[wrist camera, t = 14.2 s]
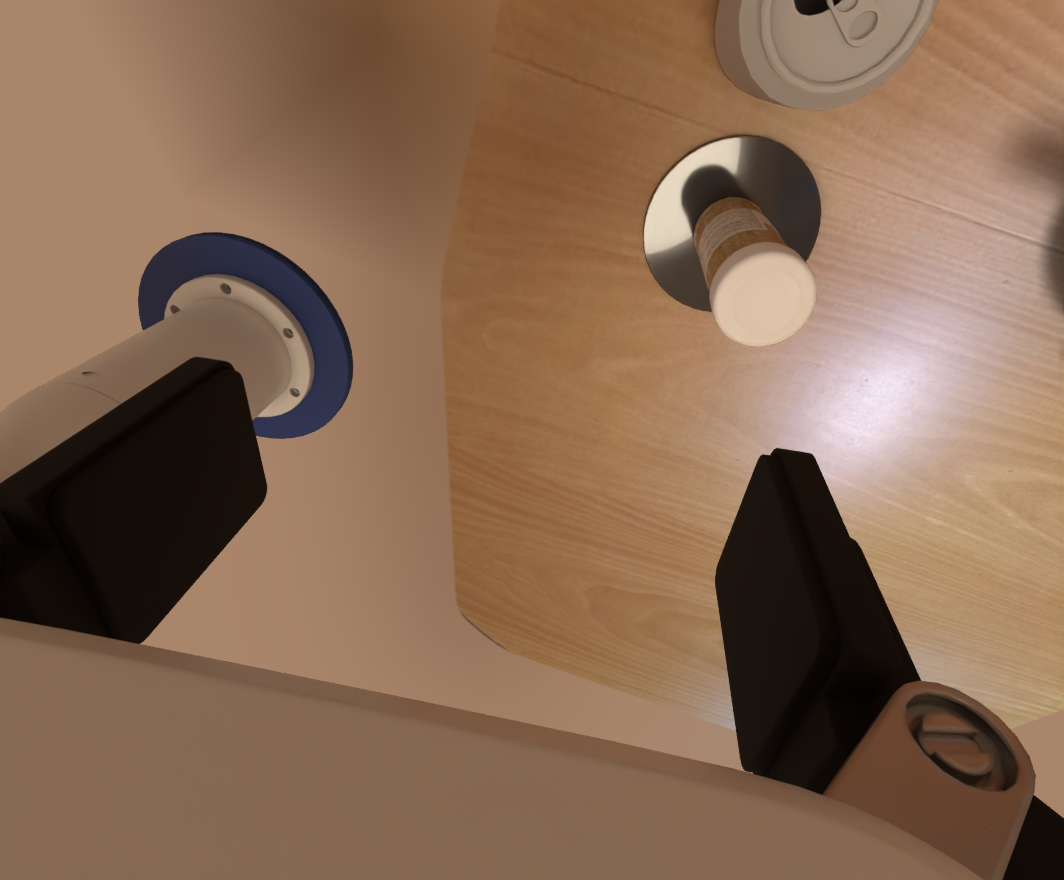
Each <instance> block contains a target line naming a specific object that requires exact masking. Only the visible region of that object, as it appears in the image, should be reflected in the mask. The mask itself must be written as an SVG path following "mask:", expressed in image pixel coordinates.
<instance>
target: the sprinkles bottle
mask: <svg viewBox="0 0 1064 880" xmlns="http://www.w3.org/2000/svg"><path fill="white" fill-rule="evenodd" d="M694 243H695V248H696V251H697V253H698V255H699V259H700V263H701V266H702V270H703V273H704V276H705V280H706V283H707V287H708V289H709V291H710V294H709V298H710V305H711V309H712V312H713V315H714V318H715V320H716V322H717V324H718V326H719V328H720V329H721V330H722V331H723V333H724V334H725V335H726V336H728V337H729V338H731V339H732V340H734V341H736V342H738V343H740V344H743V345H748V346H767V345H772V344H775V343H778V342H781V341H783V340H785V339H787V338H789V337H790V336H792V335H793V334H795V333H796V332H797V331H798V330H799V329H800V328H801V327H802V326H803V325H804V324H805V323H806V321H807V320H808V319H809V317H810V315H811V313H812V311H813V309H814V306H815V303H816V299H817V285H816V280H815V277H814V275H813V273H812V271H811V269H810V268H809V266H808V265H807V263H806V262H805V261H804V260H803V258H802V257H801V256H800V255H799V254H798V253H797V252H796V251H794V250H793V249H791V248H789V247H788V246H787V245H786V243H785V242H784V241H783V240H782V238H781V237H780V235H779V233H778V232H777V230H776V229H775V228H774V226H773V225H772V224H771V223H770V221H769V220H768V219H767V218H766V217H765V216H764V215H763V213H762V211H761V209H760V208H759V207H758V206H757V205H756V204H755V203H753V202H752V201H750V200H747V199H745V198H739V197H728V198H725V199H722V200H719V201H717V202H715V203H713V204H712V205H710V206H709V207H708V208H707V209H706V210H705V211H704V212H703V213H702V215H701V216H700V218H699V220H698V222H697V224H696V227H695V231H694Z"/></svg>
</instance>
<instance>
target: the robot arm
mask: <svg viewBox="0 0 1064 880" xmlns="http://www.w3.org/2000/svg"><path fill="white" fill-rule="evenodd" d="M314 371H315V362H314V357H313V351H312V348H311V345H310V343H309V340H308V337H307V335H306V333H305V332H304V330H303V328H302V326H301V325H300V323H299V322H298V320H297V319H296V318H295V316H294V315H293V314H292V313H291V311H290V310H289V309H288V308H287V307H286V306H285V305H284V304H283V303H282V302H281V301H280V300H279V299H278V298H276V297H275V296H273V295H272V294H271V293H269V292H268V291H267V290H265V289H264V288H262V287H260V286H258V285H256V284H254V283H252V282H250V281H248V280H245V279H242V278H239V277H236V276H231V275H225V274H209V275H204V276H200V277H197V278H194V279H192V280H190V281H189V282H187V283H184V284H183V285H182V286H180V287H179V288H178V289H177V290H176V291H174V293H173V294H172V296H171V298H170V299H169V301H168V303H167V307H166V310H165V317H164V320H162V321H160V322H158V323H157V324H155V325H153V326H151V327H149V328H147V329H145V330H144V331H142V332H140V333H138V334H136V335H134V336H132V337H131V338H129V339H127V340H125V341H123V342H121V343H120V344H118V345H116V346H114V347H112V348H110V349H108V350H106V351H105V352H103V353H101V354H99V355H97V356H95V357H93V358H91V359H90V360H88V361H86V362H84V363H82V364H80V365H78V366H77V367H75V368H73V369H71V370H70V371H67V372H66V373H64V374H62V375H60V376H58V377H56V378H54V379H52V380H51V381H49V382H47V383H45V384H43V385H41V386H39V387H37V388H35V389H34V390H32V391H30V392H28V393H27V394H25V395H23V396H21V397H20V398H18V399H16V400H15V401H13V402H12V403H10V404H9V405H8V406H7V407H6V408H5V409H4V410H2V411H1V412H0V880H1064V818H1063V817H1061V816H1060V815H1059V814H1058V813H1056V812H1055V811H1054V810H1052V809H1051V808H1050V807H1049V806H1047V805H1046V804H1045V803H1043V802H1042V801H1041V800H1039V799H1038V798H1037V797H1036V796H1034V795H1033V794H1034V789H1035V777H1036V775H1035V772H1034V769H1033V766H1032V763H1031V760H1030V757H1029V755H1028V754H1027V752H1026V750H1025V749H1024V747H1023V746H1022V744H1021V743H1020V741H1019V739H1018V738H1017V736H1016V735H1015V734H1014V733H1013V732H1012V731H1011V730H1010V729H1009V728H1008V727H1007V725H1006V724H1005V723H1004V722H1003V721H1002V720H1001V719H1000V718H999V717H998V716H996V715H995V714H994V713H993V712H991V711H990V710H989V709H988V708H986V707H985V706H984V705H982V704H981V703H980V702H978V701H977V700H975V699H973V698H971V697H969V696H968V695H966V694H964V693H962V692H961V691H959V690H956V689H954V688H951V687H948V686H945V685H942V684H939V683H934V682H926V681H921V679H920V677H919V675H918V673H917V670H916V668H915V666H914V664H913V662H912V659H911V657H910V655H909V653H908V651H907V648H906V646H905V644H904V642H903V640H902V637H901V635H900V633H899V631H898V629H897V626H896V624H895V622H894V620H893V618H892V615H891V613H890V611H889V609H888V607H887V604H886V602H885V600H884V598H883V596H882V593H881V591H880V589H879V587H878V585H877V582H876V580H875V578H874V576H873V574H872V571H871V569H870V567H869V565H868V563H867V560H866V558H865V556H864V554H863V552H862V549H861V548H860V546H859V545H858V543H857V542H856V541H855V540H853V539H852V538H850V536H849V534H848V532H847V529H846V527H845V525H844V523H843V520H842V518H841V516H840V514H839V511H838V509H837V507H836V504H835V502H834V500H833V498H832V495H831V493H830V491H829V489H828V486H827V484H826V482H825V480H824V477H823V475H822V473H821V471H820V468H819V466H818V464H817V461H816V459H815V457H814V456H813V454H810V453H805V452H799V451H793V450H786V449H780V448H776V449H774V450H773V452H772V453H771V455H764V454H763V455H761V456H760V457H759V459H758V461H757V464H756V466H755V469H754V471H753V474H752V477H751V479H750V482H749V484H748V487H747V490H746V492H745V495H744V497H743V500H742V502H741V505H740V508H739V510H738V513H737V515H736V518H735V521H734V523H733V526H732V528H731V531H730V534H729V536H728V539H727V541H726V544H725V547H724V549H723V552H722V554H721V557H720V559H719V562H718V565H717V569H716V575H715V586H716V593H717V600H718V607H719V614H720V621H721V628H722V635H723V642H724V649H725V656H726V663H727V670H728V677H729V684H730V691H731V698H732V705H733V712H734V719H735V726H736V733H737V740H738V746H739V754H740V760H741V764H742V767H743V769H744V770H745V771H747V772H753V774H751V773H747V772H744V771H740V770H736V769H733V768H728V767H724V766H719V765H715V764H711V763H706V762H702V761H698V760H693V759H689V758H684V757H680V756H676V755H671V754H666V753H662V752H658V751H653V750H649V749H645V748H640V747H636V746H631V745H627V744H623V743H618V742H614V741H609V740H604V739H600V738H595V737H590V736H585V735H581V734H576V733H571V732H566V731H561V730H556V729H552V728H547V727H542V726H537V725H533V724H528V723H523V722H518V721H514V720H509V719H504V718H499V717H495V716H490V715H485V714H480V713H476V712H471V711H466V710H461V709H456V708H452V707H447V706H442V705H437V704H432V703H427V702H423V701H418V700H413V699H408V698H403V697H398V696H393V695H389V694H383V693H378V692H374V691H369V690H364V689H359V688H354V687H350V686H344V685H340V684H335V683H330V682H325V681H320V680H315V679H310V678H306V677H301V676H296V675H291V674H286V673H281V672H276V671H271V670H266V669H261V668H256V667H251V666H246V665H241V664H237V663H232V662H227V661H221V660H216V659H212V658H206V657H201V656H196V655H191V654H186V653H181V652H176V651H171V650H165V649H161V648H156V647H151V646H146V645H141V644H140V643H142V642H143V641H144V640H145V639H146V638H147V637H148V636H149V635H150V634H151V633H152V631H153V630H154V629H155V628H156V627H157V626H158V624H159V623H160V622H161V621H162V620H163V619H164V617H165V616H166V615H167V614H168V613H169V612H170V611H171V609H172V608H173V607H174V606H175V605H176V604H177V602H178V601H179V600H180V599H181V598H182V597H183V595H184V594H185V593H186V592H187V591H188V590H189V588H190V587H191V586H192V585H193V584H194V583H195V581H196V580H197V579H198V578H199V577H200V575H201V574H202V573H203V572H204V571H205V570H206V569H207V567H208V566H209V565H210V564H211V563H212V562H213V560H214V559H215V558H216V557H217V556H218V555H219V554H220V552H221V551H222V550H223V549H224V548H225V547H226V545H227V544H228V543H229V542H230V541H231V539H232V538H233V537H234V536H235V535H236V534H237V533H238V531H239V530H240V529H241V528H242V527H243V526H244V524H245V523H246V522H247V521H248V520H249V519H250V517H251V516H252V515H253V514H254V513H255V512H256V510H257V509H258V508H259V507H260V506H261V504H262V503H263V501H264V499H265V497H266V493H267V483H266V479H265V474H264V470H263V465H262V461H261V457H260V452H259V447H258V443H257V439H256V434H255V430H254V425H253V420H254V419H255V418H256V417H272V416H277V415H282V414H284V413H286V412H288V411H290V410H292V409H293V408H294V407H296V406H297V405H298V404H299V403H300V402H301V401H302V400H303V399H304V398H305V397H306V396H307V394H308V392H309V390H310V388H311V386H312V383H313V379H314Z"/></svg>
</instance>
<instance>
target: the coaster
mask: <svg viewBox="0 0 1064 880" xmlns="http://www.w3.org/2000/svg"><path fill="white" fill-rule="evenodd" d="M728 197H739V198H745V199H747V200H750V201H752V202H753V203H755V204H756V205H757V206H758V207H759V208H760V209H761V211H762V213H763V215H764V216H765V217H766V218H767V219H768V220H769V221H770V223H771V224H772V225H773V226H774V228H775V229H776V230H777V232H778V233H779V235H780V237H781V238H782V240H783V241H784V242H785V243H786V245H787V246H788V247H789V248H791V249H793V250H794V251H796V252H797V253H798V254H799V255H800V256H801V257H802V258H803V260H804V261H805V262H806V261H807V259H808V258H809V255H810V253H811V251H812V249H813V247H814V245H815V242H816V239H817V236H818V231H819V227H820V219H821V203H820V196H819V192H818V188H817V185H816V182H815V180H814V177H813V176H812V174H811V172H810V170H809V169H808V167H807V166H806V165H805V163H804V162H803V161H802V160H801V159H800V158H799V157H798V156H797V155H796V154H795V153H794V152H793V151H791V150H790V149H788V148H786V147H785V146H783V145H782V144H779V143H777V142H775V141H772V140H770V139H766V138H762V137H757V136H747V135H745V136H731V137H726V138H721V139H718V140H715V141H712V142H709V143H707V144H705V145H702V146H700V147H698V148H697V149H695V150H693V151H692V152H690V153H689V154H687V155H686V156H684V157H683V158H682V159H681V160H680V161H678V162H677V163H676V164H675V165H674V166H673V167H672V168H671V169H670V170H669V171H668V172H667V174H666V175H665V176H664V178H663V179H662V180H661V182H660V183H659V185H658V187H657V188H656V190H655V192H654V193H653V196H652V198H651V200H650V202H649V205H648V209H647V212H646V215H645V221H644V228H643V243H644V252H645V256H646V260H647V263H648V266H649V269H650V271H651V273H652V274H653V276H654V278H655V280H656V281H657V282H658V284H659V285H660V286H661V287H662V288H663V289H664V290H665V291H666V292H667V293H668V294H669V295H670V296H671V297H673V298H674V299H675V300H677V301H679V302H681V303H682V304H684V305H687V306H689V307H692V308H694V309H698V310H702V311H709V312H712V309H711V305H710V298H709V294H710V291H709V289H708V287H707V283H706V280H705V276H704V273H703V270H702V266H701V263H700V259H699V255H698V253H697V251H696V248H695V243H694V231H695V227H696V224H697V222H698V220H699V218H700V216H701V215H702V213H703V212H704V211H705V210H706V209H707V208H708V207H709V206H710V205H712V204H713V203H715V202H717V201H719V200H722V199H725V198H728Z"/></svg>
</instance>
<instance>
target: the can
mask: <svg viewBox="0 0 1064 880" xmlns="http://www.w3.org/2000/svg"><path fill="white" fill-rule="evenodd" d="M937 3H938V0H719V5H718V10H717V16H716V21H715V27H714V31H715V43H716V54H717V56H718V58H719V61H720V63H721V66H722V68H723V71H724V73H725V75H726V76H727V77H728V78H729V79H730V80H731V81H732V82H733V83H734V84H735V86H736V87H737V88H738V89H739V90H741V91H744V92H746V93H748V94H750V95H752V96H754V97H756V98H759V99H762V100H766V101H769V102H772V103H776V104H779V105H782V106H786V107H789V108H792V109H802V110H817V111H823V110H827V109H830V108H834V107H838V106H842V105H845V104H849V103H852V102H854V101H856V100H857V99H859V98H861V97H862V96H864V95H866V94H867V93H869V92H871V91H872V90H874V89H876V88H877V87H879V86H881V85H882V84H883V83H884V82H885V81H886V80H887V79H888V78H889V77H890V76H891V75H892V74H893V73H894V72H895V71H896V70H897V69H898V68H899V67H900V66H901V65H902V64H903V63H904V62H905V61H906V60H907V59H908V58H909V57H910V55H911V53H912V52H913V50H914V49H915V47H916V46H917V44H918V43H919V41H920V39H921V38H922V36H923V35H924V33H925V32H926V30H927V29H928V27H929V25H930V22H931V19H932V17H933V14H934V11H935V8H936V5H937Z"/></svg>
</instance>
